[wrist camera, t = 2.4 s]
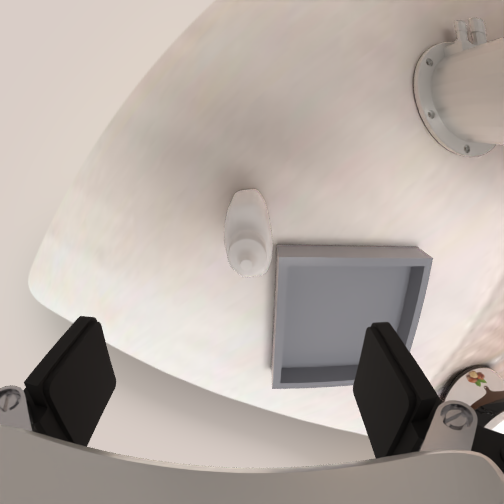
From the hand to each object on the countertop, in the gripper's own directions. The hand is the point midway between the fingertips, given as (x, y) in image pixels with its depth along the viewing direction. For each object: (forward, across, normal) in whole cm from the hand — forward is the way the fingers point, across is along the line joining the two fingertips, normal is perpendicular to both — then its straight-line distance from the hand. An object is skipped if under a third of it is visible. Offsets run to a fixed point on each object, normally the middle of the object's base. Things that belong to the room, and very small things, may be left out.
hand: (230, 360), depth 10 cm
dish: (+20, -10, +10) cm, 25 cm away
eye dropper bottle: (+21, 0, 0) cm, 21 cm away
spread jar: (+21, -32, +26) cm, 46 cm away
